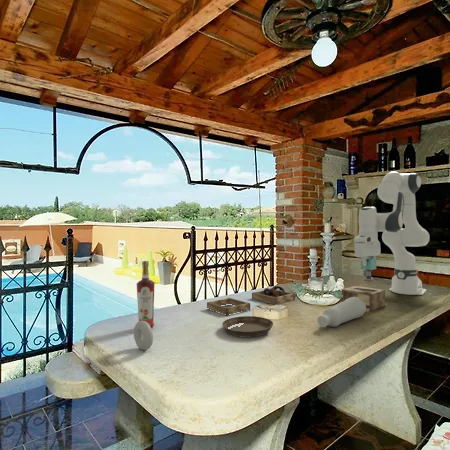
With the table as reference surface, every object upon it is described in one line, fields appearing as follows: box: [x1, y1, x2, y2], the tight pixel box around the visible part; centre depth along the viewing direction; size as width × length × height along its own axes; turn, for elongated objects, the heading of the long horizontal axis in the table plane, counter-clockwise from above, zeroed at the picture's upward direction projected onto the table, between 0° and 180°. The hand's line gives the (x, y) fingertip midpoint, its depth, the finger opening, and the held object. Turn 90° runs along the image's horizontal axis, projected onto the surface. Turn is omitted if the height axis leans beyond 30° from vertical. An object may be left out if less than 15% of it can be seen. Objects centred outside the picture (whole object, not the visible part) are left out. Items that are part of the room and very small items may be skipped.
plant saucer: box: [221, 315, 274, 338], centre depth 130 cm, size 21×21×3 cm
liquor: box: [136, 260, 155, 329], centre depth 135 cm, size 7×7×28 cm
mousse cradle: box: [206, 297, 251, 316], centre depth 162 cm, size 15×16×4 cm
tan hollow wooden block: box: [341, 285, 386, 311], centre depth 167 cm, size 14×16×8 cm
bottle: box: [316, 296, 367, 328], centre depth 139 cm, size 9×9×30 cm
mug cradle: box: [251, 289, 296, 305], centre depth 183 cm, size 16×18×4 cm
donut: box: [133, 320, 154, 351], centre depth 111 cm, size 10×4×10 cm, turn 43°
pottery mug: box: [263, 285, 286, 297], centre depth 184 cm, size 12×10×8 cm
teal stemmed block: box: [360, 257, 377, 282], centre depth 165 cm, size 5×5×12 cm
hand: (368, 265), depth 165 cm, fingers closed on teal stemmed block, 5 cm apart
